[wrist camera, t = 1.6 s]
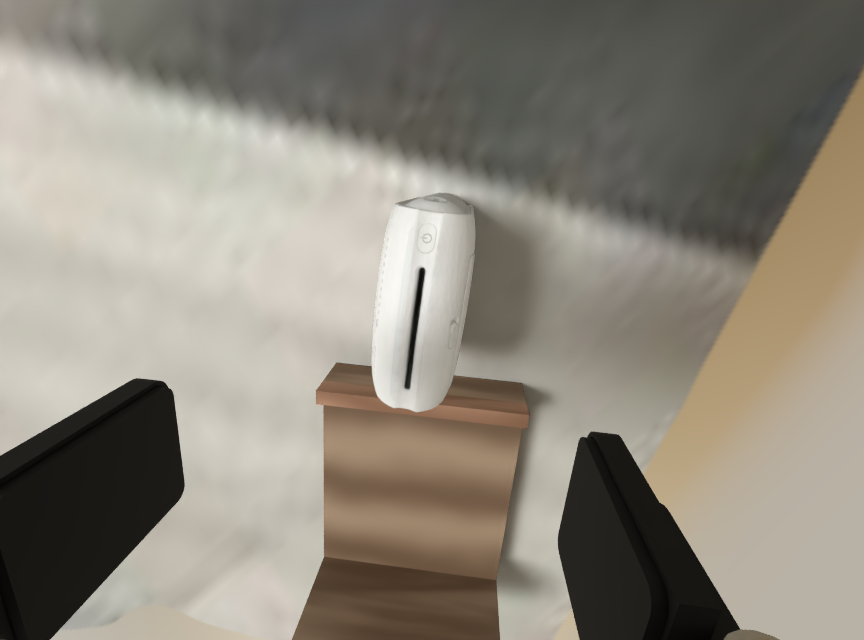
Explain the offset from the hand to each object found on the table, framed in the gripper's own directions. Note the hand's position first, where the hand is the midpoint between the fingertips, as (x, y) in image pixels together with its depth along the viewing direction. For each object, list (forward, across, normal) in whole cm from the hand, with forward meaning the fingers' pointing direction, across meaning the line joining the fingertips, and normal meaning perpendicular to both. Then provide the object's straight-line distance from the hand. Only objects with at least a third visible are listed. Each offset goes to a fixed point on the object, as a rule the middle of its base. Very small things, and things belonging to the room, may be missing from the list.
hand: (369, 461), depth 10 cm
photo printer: (+21, 0, 0) cm, 21 cm away
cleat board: (+21, 0, +16) cm, 26 cm away
